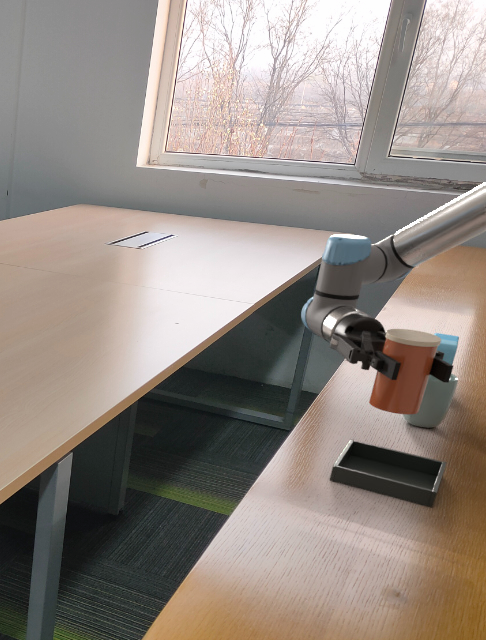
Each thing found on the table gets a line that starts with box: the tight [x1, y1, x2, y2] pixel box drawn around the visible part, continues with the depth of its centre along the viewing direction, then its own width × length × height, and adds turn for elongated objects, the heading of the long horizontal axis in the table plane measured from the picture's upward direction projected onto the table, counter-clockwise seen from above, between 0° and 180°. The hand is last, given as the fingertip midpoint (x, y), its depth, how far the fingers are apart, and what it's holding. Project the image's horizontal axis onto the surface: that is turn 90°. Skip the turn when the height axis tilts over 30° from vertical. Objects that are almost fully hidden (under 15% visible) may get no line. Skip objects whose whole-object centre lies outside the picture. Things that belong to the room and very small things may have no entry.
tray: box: [329, 439, 448, 508], centre depth 128 cm, size 14×14×3 cm
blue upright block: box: [433, 332, 460, 365], centre depth 169 cm, size 12×4×12 cm, turn 146°
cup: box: [402, 373, 459, 429], centre depth 152 cm, size 8×8×10 cm
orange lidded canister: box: [368, 328, 441, 415], centre depth 128 cm, size 8×8×12 cm
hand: (422, 372), depth 123 cm, fingers closed on orange lidded canister, 7 cm apart
